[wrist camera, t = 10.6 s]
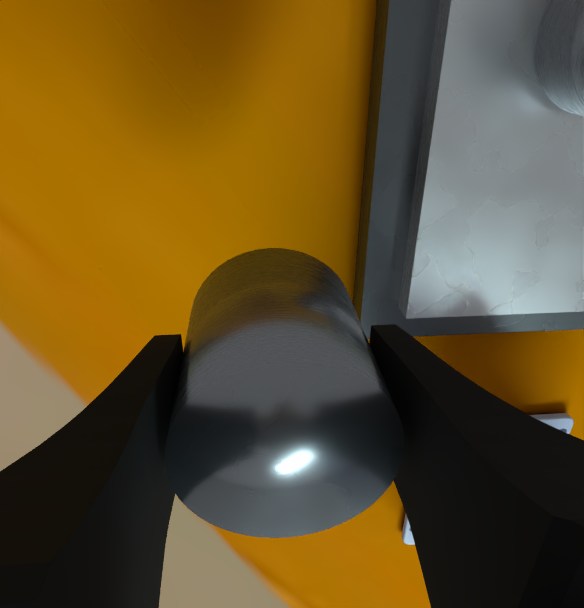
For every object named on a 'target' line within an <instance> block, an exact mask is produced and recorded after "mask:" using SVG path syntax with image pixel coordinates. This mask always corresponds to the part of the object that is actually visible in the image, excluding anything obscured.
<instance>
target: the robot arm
mask: <svg viewBox="0 0 584 608" xmlns="http://www.w3.org/2000/svg"><path fill="white" fill-rule="evenodd" d="M369 345H370V347H371V350H372V352H373V354H374V357H375V359H376V362H377V364H378V366H379V369H380V371H381V374H382V376H383V378H384V381H385V383H386V386H387V388H388V391H389V393H390V395H391V398H392V400H393V403H394V405H395V407H396V410H397V412H398V415H399V417H400V420H401V423H402V426H403V430H404V438H405V446H404V455H403V459H402V463H401V466H400V468H399V470H398V473H397V475H396V476H395V478H394V482H395V485H396V488H397V490H398V493H399V495H400V498H401V501H402V503H403V506H404V509H405V512H406V514H405V520H404V525H403V531H402V539H403V542H404V543H405V544H408V545H413V544H415V546H416V550H417V554H418V557H419V561H420V565H421V569H422V573H423V577H424V581H425V585H426V589H427V593H428V596H429V600H430V604H431V608H584V441H583V440H581V439H579V438H576V437H574V436H572V435H570V431H571V428H572V426H573V422H574V421H573V419H572V418H571V416H570V415H568V414H567V413H557V414H540V415H528V414H526V413H524V412H522V411H521V410H519V409H517V408H515V407H513V406H512V405H510V404H508V403H506V402H504V401H503V400H501V399H499V398H498V397H496V396H494V395H493V394H491V393H489V392H488V391H486V390H485V389H483V388H482V387H480V386H478V385H477V384H475V383H474V382H472V381H471V380H469V379H468V378H466V377H465V376H463V375H462V374H461V373H459V372H458V371H456V370H455V369H454V368H452V367H451V366H449V365H448V364H447V363H445V362H444V361H443V360H441V359H440V358H439V357H437V356H436V355H435V354H433V353H432V352H431V351H430V350H428V349H427V348H426V347H425V346H423V345H422V344H421V343H419V342H418V341H417V340H416V339H414V338H413V337H412V336H411V335H409V334H408V333H407V332H405V331H404V330H403V329H401V328H400V327H399V326H397V325H396V324H390V325H371V332H370V343H369ZM182 357H183V347H182V339H181V334H178V335H157V336H154V337H153V338H152V339H151V340H150V341H149V342H148V343H147V344H146V346H145V347H144V348H143V349H142V350H141V351H140V352H139V353H138V355H137V356H136V357H135V358H134V359H133V360H132V361H131V362H130V363H129V365H128V366H127V367H126V368H125V369H124V370H123V371H122V372H121V373H120V374H119V375H118V376H117V377H116V378H115V379H114V381H113V382H112V383H111V384H110V385H109V386H108V387H107V388H106V389H105V390H104V391H103V392H102V393H101V394H100V395H99V396H98V397H96V398H95V399H94V400H93V401H92V402H91V403H90V404H89V405H88V406H87V407H86V408H85V409H84V410H83V411H82V412H81V413H79V414H78V415H77V416H76V417H75V418H73V419H72V420H71V421H70V422H69V423H68V424H66V425H65V426H64V427H63V428H61V429H60V430H59V431H57V432H56V433H55V434H53V435H52V436H51V437H50V438H48V439H47V440H46V441H44V442H43V443H42V444H40V445H39V446H38V447H36V448H35V449H33V450H32V451H30V452H29V453H27V454H26V455H24V456H23V457H21V458H20V459H18V460H17V461H15V462H14V463H12V464H11V465H9V466H8V467H6V468H5V469H3V470H2V471H1V472H0V608H158V607H159V597H160V587H161V578H162V570H163V561H164V551H165V543H166V537H167V530H168V525H169V520H170V515H171V511H172V506H173V501H174V497H175V492H174V490H173V488H172V486H171V484H170V482H169V480H168V477H167V473H166V469H165V459H164V456H165V445H166V440H167V435H168V430H169V425H170V419H171V414H172V409H173V404H174V399H175V393H176V388H177V383H178V378H179V373H180V367H181V362H182Z"/></svg>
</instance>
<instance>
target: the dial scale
mask: <svg viewBox="0 0 584 608" xmlns="http://www.w3.org/2000/svg"><path fill="white" fill-rule="evenodd" d="M549 2H550V0H377V10H376V23H375V35H374V48H373V60H372V73H371V86H370V98H369V111H368V123H367V136H366V149H365V161H364V174H363V187H362V199H361V212H360V224H359V237H358V250H357V262H356V275H355V287H354V300H353V306H354V308H355V311H356V313H357V316H358V318H359V321H360V323H361V325H362V328H363V330H364V333H365V335H366V337H367V338H370V332H371V325H390V324H396V325H397V326H399V327H400V328H401V329H403V330H404V331H405V332H407V333H408V334H409V335H411V336H435V335H458V334H481V333H504V332H527V331H550V330H572V329H584V116H581V115H577V114H572V113H569V112H567V111H564V110H562V109H560V108H559V107H557V106H556V105H555V104H554V103H553V102H551V101H550V100H549V98H548V97H547V96H546V94H545V93H544V91H543V89H542V87H541V85H540V83H539V80H538V77H537V72H536V67H535V45H536V39H537V33H538V30H539V26H540V23H541V20H542V17H543V15H544V12H545V10H546V8H547V6H548V4H549Z"/></svg>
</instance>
